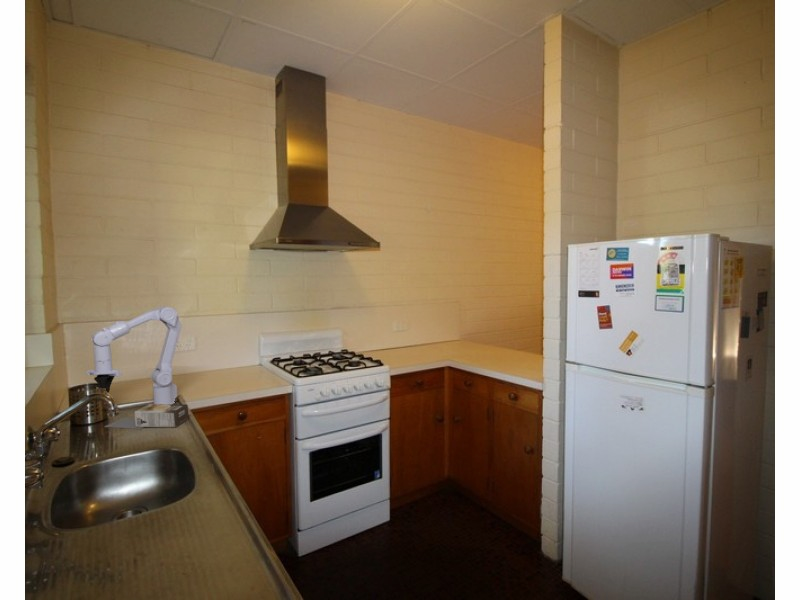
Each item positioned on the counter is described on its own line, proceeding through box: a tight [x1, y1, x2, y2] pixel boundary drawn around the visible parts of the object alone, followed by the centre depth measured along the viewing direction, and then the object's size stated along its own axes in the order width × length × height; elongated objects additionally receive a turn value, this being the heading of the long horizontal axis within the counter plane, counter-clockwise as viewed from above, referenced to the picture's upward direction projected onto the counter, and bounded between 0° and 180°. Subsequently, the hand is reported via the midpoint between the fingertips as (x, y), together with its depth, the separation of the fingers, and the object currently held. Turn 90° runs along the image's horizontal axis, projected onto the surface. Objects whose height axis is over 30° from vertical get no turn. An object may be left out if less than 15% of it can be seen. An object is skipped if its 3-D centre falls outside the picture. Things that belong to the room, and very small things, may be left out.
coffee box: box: [134, 403, 189, 428], centre depth 162 cm, size 9×6×16 cm
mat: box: [104, 417, 145, 430], centre depth 163 cm, size 9×16×1 cm, turn 80°
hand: (105, 392), depth 170 cm, fingers closed
